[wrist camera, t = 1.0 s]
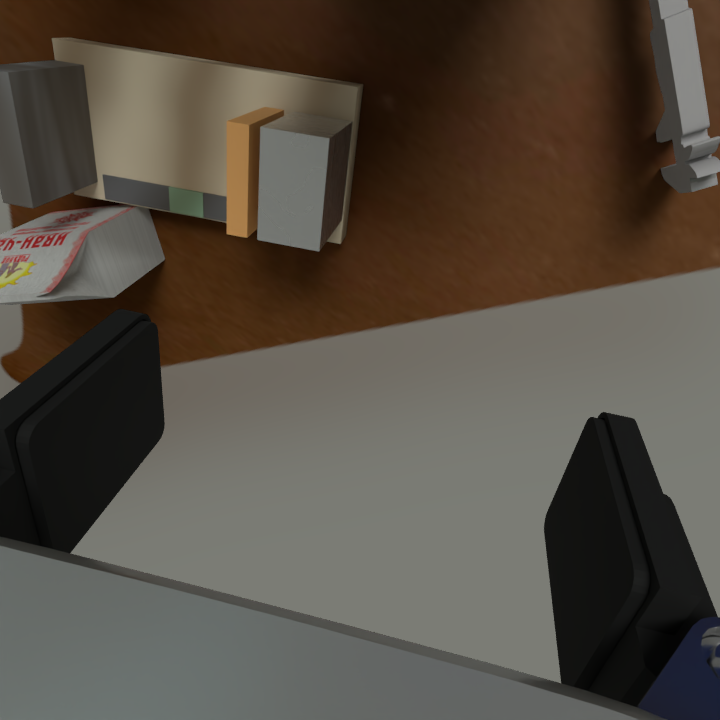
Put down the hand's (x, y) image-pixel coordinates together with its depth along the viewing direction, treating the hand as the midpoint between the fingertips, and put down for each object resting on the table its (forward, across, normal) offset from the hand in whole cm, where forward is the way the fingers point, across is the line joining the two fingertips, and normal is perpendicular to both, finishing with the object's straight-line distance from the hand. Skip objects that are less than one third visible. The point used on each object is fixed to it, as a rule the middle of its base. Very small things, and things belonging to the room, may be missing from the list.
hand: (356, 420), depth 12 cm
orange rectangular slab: (+20, +8, +1) cm, 22 cm away
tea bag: (+22, +20, +7) cm, 30 cm away
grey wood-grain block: (+20, +6, 0) cm, 21 cm away
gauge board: (+22, +12, 0) cm, 25 cm away
